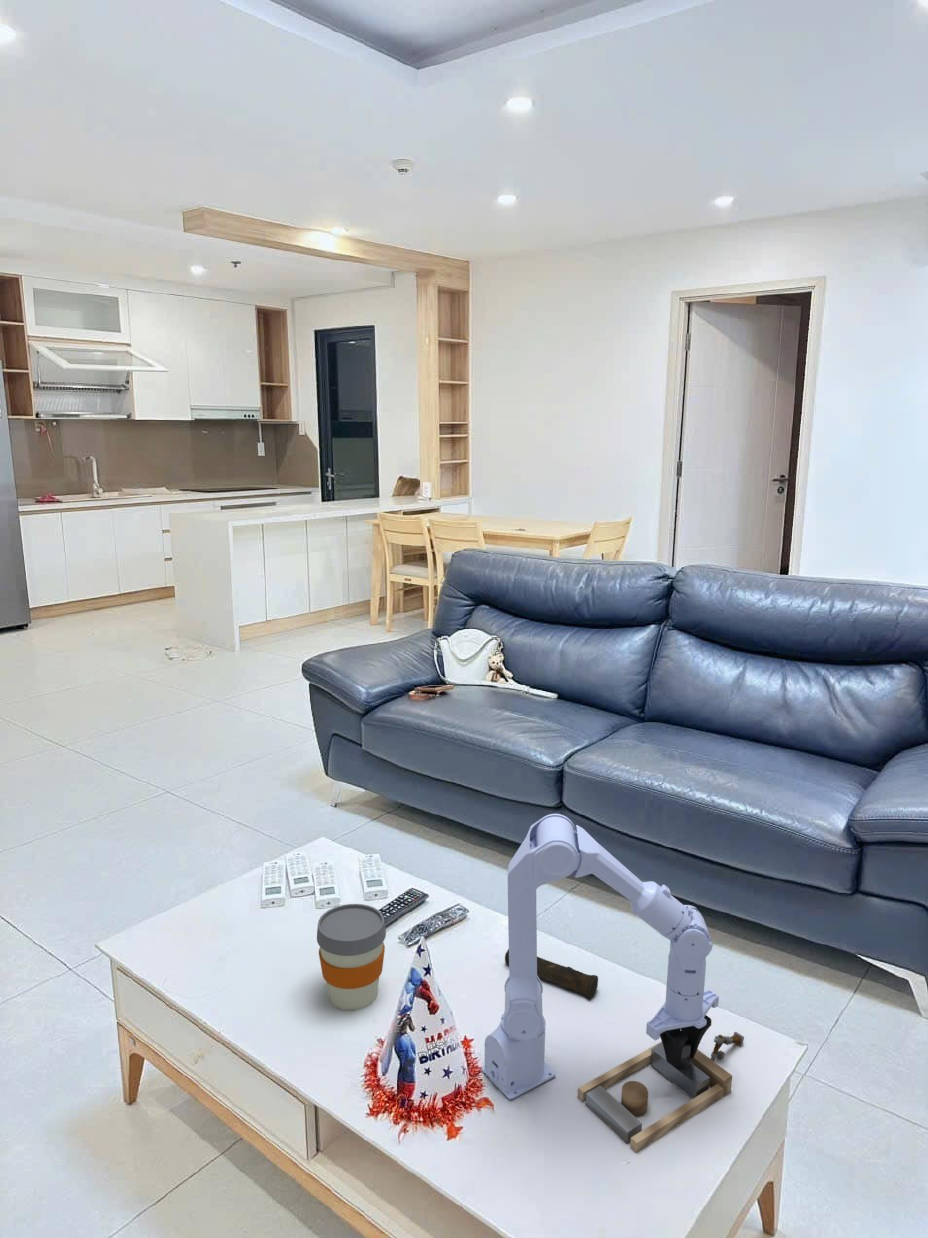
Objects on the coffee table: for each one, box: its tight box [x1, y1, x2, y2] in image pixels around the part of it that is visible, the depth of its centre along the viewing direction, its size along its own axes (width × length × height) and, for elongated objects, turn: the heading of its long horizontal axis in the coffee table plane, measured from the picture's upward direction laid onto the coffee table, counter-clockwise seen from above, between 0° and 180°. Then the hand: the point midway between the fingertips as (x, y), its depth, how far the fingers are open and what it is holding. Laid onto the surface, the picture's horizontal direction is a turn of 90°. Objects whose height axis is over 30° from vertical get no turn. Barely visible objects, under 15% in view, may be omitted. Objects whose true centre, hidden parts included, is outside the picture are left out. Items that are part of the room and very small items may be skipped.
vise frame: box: [577, 1041, 733, 1153], centre depth 136 cm, size 21×13×3 cm, turn 124°
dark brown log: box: [504, 948, 599, 1001], centre depth 164 cm, size 19×4×5 cm, turn 56°
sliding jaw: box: [649, 1039, 710, 1100], centre depth 139 cm, size 3×10×7 cm, turn 34°
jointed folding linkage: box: [710, 1031, 745, 1063], centre depth 145 cm, size 2×8×4 cm, turn 130°
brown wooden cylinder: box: [620, 1080, 649, 1118], centre depth 134 cm, size 4×4×3 cm
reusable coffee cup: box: [316, 903, 387, 1011], centre depth 158 cm, size 13×13×15 cm
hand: (680, 1058), depth 139 cm, fingers closed on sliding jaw, 3 cm apart
